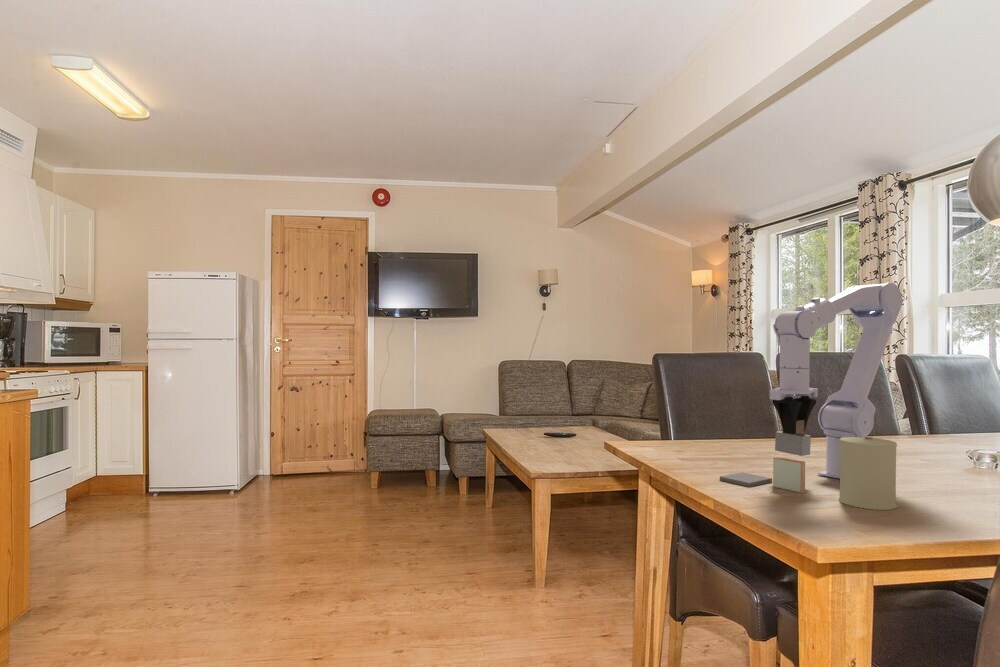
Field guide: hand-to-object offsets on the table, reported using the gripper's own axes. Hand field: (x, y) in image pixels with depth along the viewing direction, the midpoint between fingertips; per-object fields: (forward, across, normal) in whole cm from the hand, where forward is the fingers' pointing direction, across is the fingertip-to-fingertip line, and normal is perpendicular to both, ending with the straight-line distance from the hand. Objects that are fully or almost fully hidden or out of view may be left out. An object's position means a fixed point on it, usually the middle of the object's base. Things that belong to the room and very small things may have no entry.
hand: (793, 432), depth 132 cm
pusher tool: (+4, 0, 0) cm, 4 cm away
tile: (+10, +7, +3) cm, 13 cm away
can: (+11, +4, +17) cm, 20 cm away
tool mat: (+10, +8, -6) cm, 14 cm away
